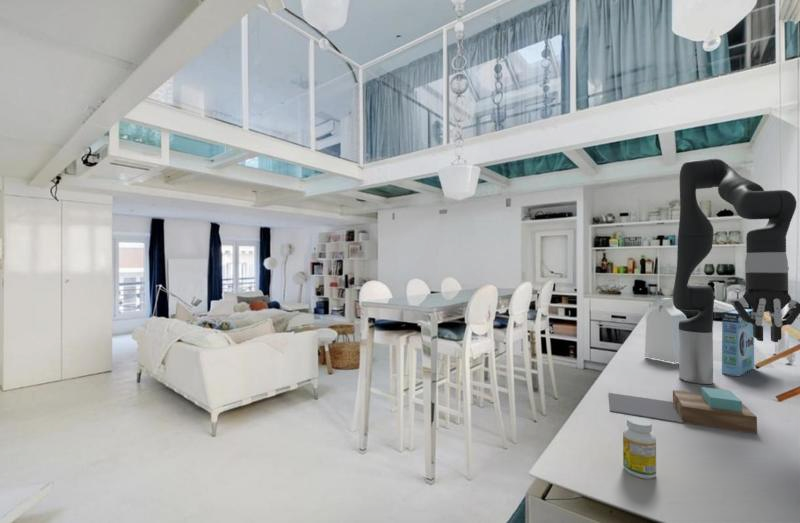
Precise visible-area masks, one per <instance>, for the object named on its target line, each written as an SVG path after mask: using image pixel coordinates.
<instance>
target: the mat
mask: <svg viewBox="0 0 800 523" xmlns="http://www.w3.org/2000/svg"><path fill="white" fill-rule="evenodd" d="M608 402H609V411H610V413H616V414H617V413H618V414H623V415H630V416H634V417H639V418H647V419H654V420H661V421H666V422H672V423H678V424H684V423H685V422H683V420H682V418H681V416H680V415H679V413H678V411H677V409H676V408H675V406H674V404H673V401H669V400H661V399H657V398H656V399H655V398H648V397H641V396H640V397H639V396H634V395H627V394H626V395H625V394H621V393H614V392H612V393H611V392H608Z"/></svg>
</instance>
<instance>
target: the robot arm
mask: <svg viewBox="0 0 800 523" xmlns="http://www.w3.org/2000/svg"><path fill="white" fill-rule="evenodd" d="M712 188H717V192H718V193H717V194H718V195H719V196H720V198H721V199H722V200H723V201H724V202H726V203H728V204H730V205H732V207H733V208H734V209H735V210H734V211H735V212H736V213H737V216H739V217H740V218H743V219H745V220H768V221H767V223H766V225H765V227H762V228H756V229H752V230H749V231H748V232H747V233H746V240H745V241H746V247H745V248H746V251H745V252H746V256H745V262H744V265H745V266H744V269H745V270H744V272H745V274H744V275H745V276H744V277H745V279H744V280H745V292H744V293H743V296H742V297H740V298H736V299H731V301H730V303H731V305H732V307H733V308H734V310H736V311H737V312H738V314H739V315H740V317H741V318H742V319H743V321H745V322H748V323H751V324H752V325H753V336H754V339H756V341H758V342H763V341H764V326H763V325H762V324H763V320H764V319H763V318H764V316H765V312H766V313H767V312H768V314H769V316H770V322H771V325H770V341H771V342H773V343H779V341H781V340H782V339H783V338H782V328H783V327H784V326H787V325H788V326H790V325H792V324H793V323H794V322H795V321H796V319H797V318H798V316H799V315H800V301H797V300H794V299H792V297H791V295H790V294H789V262H788V261H789V260H788V257H787V234H788V231H789V228H790V226H791V225H790V224H791V221H792V220H793V216H794V214H795V212H796V209H797V199H796V197H795V196H794V194H793V193H792V192H790V191H788V190H784V189H780V190H778V189H777V190H765V189H764V188H763V186H762V185H760V184H758V183H757V182H755V181H752V180H749V179H748V178H745V177H743V176H741V174H739V173H738V172H737V171H736V170H734V168H732V166H730V165H729V164H728V163H726V162H725V161H724V160H722V159H718V158H707V159H695V160H688V161H685V162H684V163H683V164H682V166H681V167H680V171H679V201H680V202H679V208H680V209H679V221H678V222H679V223H678V233H677V252H676V253H677V256H676V257H677V259H676V272H675V279H674V286H673V290H672V291H673V292H672V293H673V294H672V300H673V305H674V306H675V308H676V309H678V310H680V311H687V312H688V311H690V312H698V313H697V315H694V316H693V317H690V318H687V319H686V320H682V321H680V322H679V364H678V378H679V377H680V378H681V379H680V378H679V379H680V380H682V379H683V380H682V381H685V382H689V383H693V384H694V383H695V384H700V385H701V384H702V385H711V384H713V383H714V359H713V358H714V342H713V341H714V340H713V339H714V338H713V337H714V336H713V335H714V334H713V333H714V331H713V330H714V329H713V327H714V310H715V309H714V308H715V306H714V304H715V292H714V289H713V287H712V286H711V285H709V284H697V283H695V284H693V283H690V284H689V281H690V278H691V276H692V273H693V272H694V271H695V269H696V268H697V267H698V266H699V265H700V264H701V263H702V261H704V260H705V259H706V258H707V256H709V254H710V253H711V251H712V248H713V243H714V242H713V241H714V227H713V226H714V225H713V224H712V222H710V220H709V218H708V217H707V215H705V213H704V211H703V210H702V209H701V208H700V206H699V203H698V200H697V190H702V189H712ZM746 304H748V305H749V307H751V308H752V309H751V310H752V315H753V316H752V318H751V317H750V316H749V314H748V313H747V312H746V310H745V306H746ZM787 305H788V308H789V309H788V310H787V312H786V313H785V314H784V316H783V315H782V310H784V308H785V307H786V306H787Z"/></svg>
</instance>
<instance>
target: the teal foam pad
mask: <svg viewBox="0 0 800 523" xmlns="http://www.w3.org/2000/svg"><path fill="white" fill-rule="evenodd" d="M700 389H701V391H700V392H701V393H700V394H702V397H703V399H704V400H705V401H706V402H707V404H708V405H709V406H710V407H712V408H719V409H726V410H733V411H740V412H742V404H743V400H741V399H740V398H739V397H738V396H736V395H735V393H734V392H733V391H731V390H729V389H720V388H714V387H713V388H712V387H704V386H701V388H700Z"/></svg>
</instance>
